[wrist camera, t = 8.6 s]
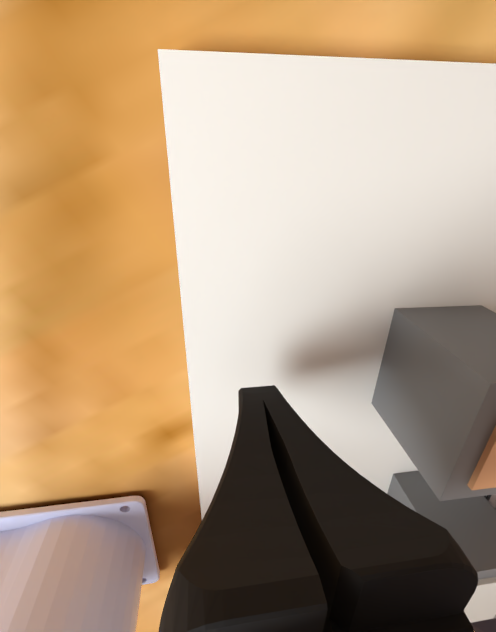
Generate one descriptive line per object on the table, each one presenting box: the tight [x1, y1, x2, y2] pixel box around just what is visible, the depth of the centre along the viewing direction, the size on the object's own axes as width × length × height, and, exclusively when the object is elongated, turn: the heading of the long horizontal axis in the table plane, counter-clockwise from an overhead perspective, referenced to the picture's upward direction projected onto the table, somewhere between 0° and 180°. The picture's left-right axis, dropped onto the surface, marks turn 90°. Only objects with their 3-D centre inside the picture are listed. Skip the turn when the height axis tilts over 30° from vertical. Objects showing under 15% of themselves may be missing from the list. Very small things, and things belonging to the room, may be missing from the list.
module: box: [371, 305, 496, 501], centre depth 13 cm, size 4×5×5 cm
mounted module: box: [387, 471, 496, 623], centre depth 17 cm, size 4×5×5 cm
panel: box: [158, 49, 496, 520], centre depth 16 cm, size 18×26×1 cm
